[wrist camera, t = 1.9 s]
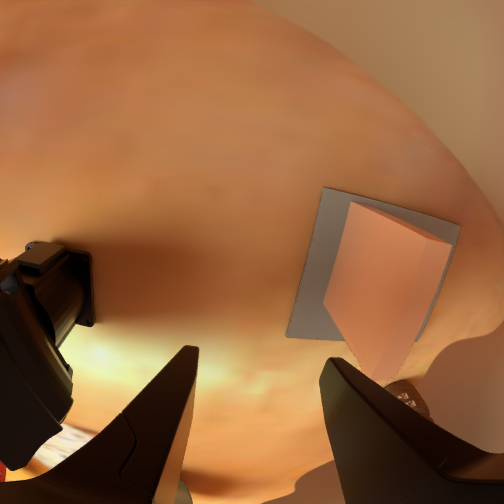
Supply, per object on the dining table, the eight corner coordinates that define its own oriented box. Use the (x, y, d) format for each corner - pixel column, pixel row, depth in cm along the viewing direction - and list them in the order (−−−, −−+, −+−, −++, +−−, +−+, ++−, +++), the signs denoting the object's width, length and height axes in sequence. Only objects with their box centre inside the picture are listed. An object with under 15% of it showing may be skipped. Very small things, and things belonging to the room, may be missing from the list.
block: (345, 304, 23) (396, 378, 14) (322, 302, 22) (368, 380, 14) (374, 206, 20) (454, 245, 12) (350, 201, 20) (427, 238, 11)
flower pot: (137, 455, 29) (127, 511, 20) (198, 475, 31) (198, 529, 22) (121, 474, 31) (113, 521, 22) (175, 492, 33) (172, 537, 24)
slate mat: (415, 339, 25) (417, 341, 25) (285, 334, 23) (286, 337, 23) (458, 225, 22) (461, 226, 21) (323, 187, 20) (325, 187, 19)
